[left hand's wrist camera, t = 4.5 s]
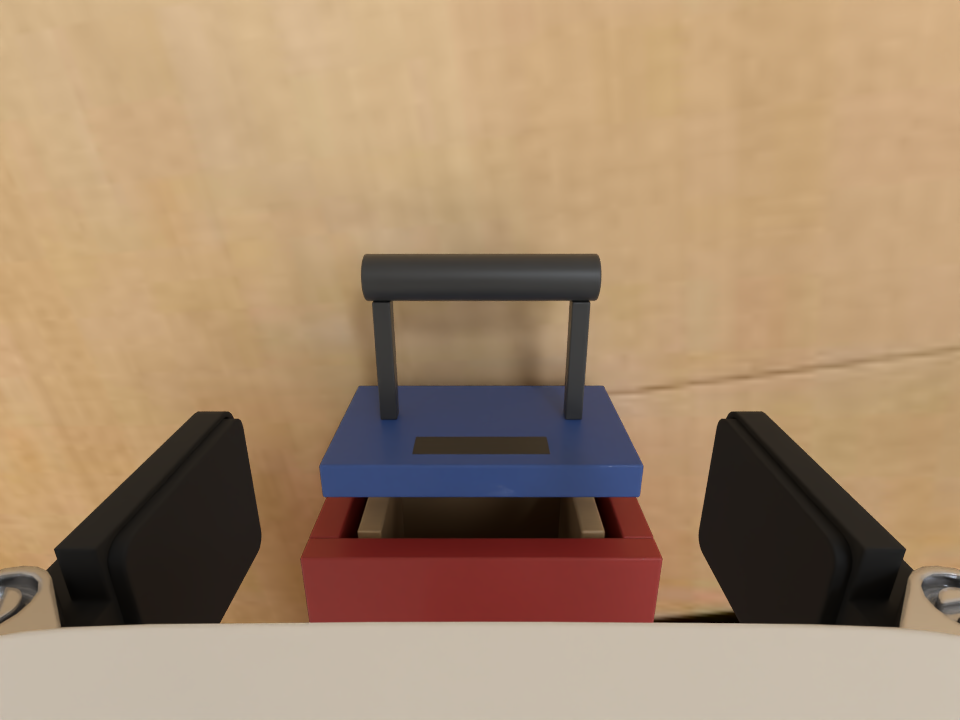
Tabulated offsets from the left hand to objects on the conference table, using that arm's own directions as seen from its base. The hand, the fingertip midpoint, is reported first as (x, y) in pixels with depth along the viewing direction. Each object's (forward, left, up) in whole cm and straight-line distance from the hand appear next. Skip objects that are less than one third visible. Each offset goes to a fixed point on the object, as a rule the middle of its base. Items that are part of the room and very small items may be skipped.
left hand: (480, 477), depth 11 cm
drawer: (-8, +5, -12) cm, 15 cm away
